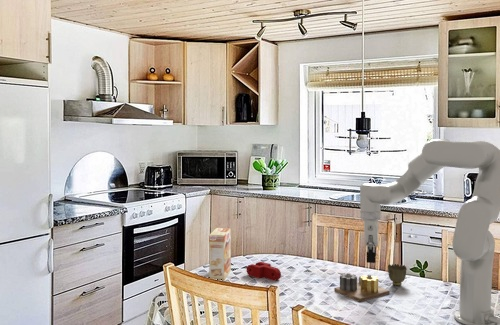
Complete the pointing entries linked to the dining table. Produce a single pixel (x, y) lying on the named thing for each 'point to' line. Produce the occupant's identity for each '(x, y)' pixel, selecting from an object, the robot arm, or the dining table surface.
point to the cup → (397, 274)
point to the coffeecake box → (220, 253)
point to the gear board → (357, 288)
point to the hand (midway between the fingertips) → (371, 259)
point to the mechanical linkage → (263, 271)
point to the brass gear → (369, 284)
